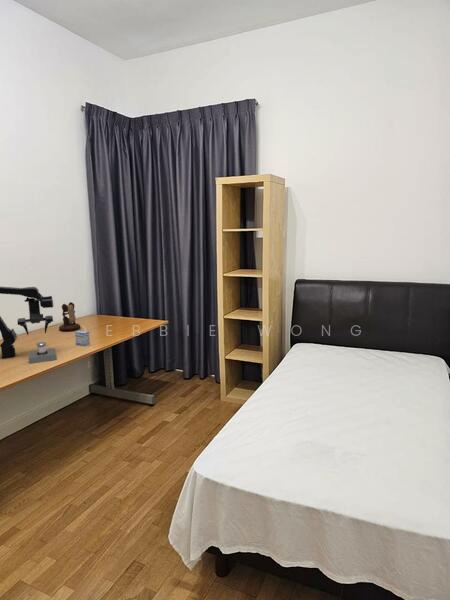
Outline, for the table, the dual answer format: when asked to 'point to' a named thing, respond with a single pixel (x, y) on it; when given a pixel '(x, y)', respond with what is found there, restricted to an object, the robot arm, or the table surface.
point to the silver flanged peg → (41, 348)
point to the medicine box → (82, 338)
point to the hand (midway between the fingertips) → (36, 334)
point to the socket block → (42, 356)
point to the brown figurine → (69, 322)
